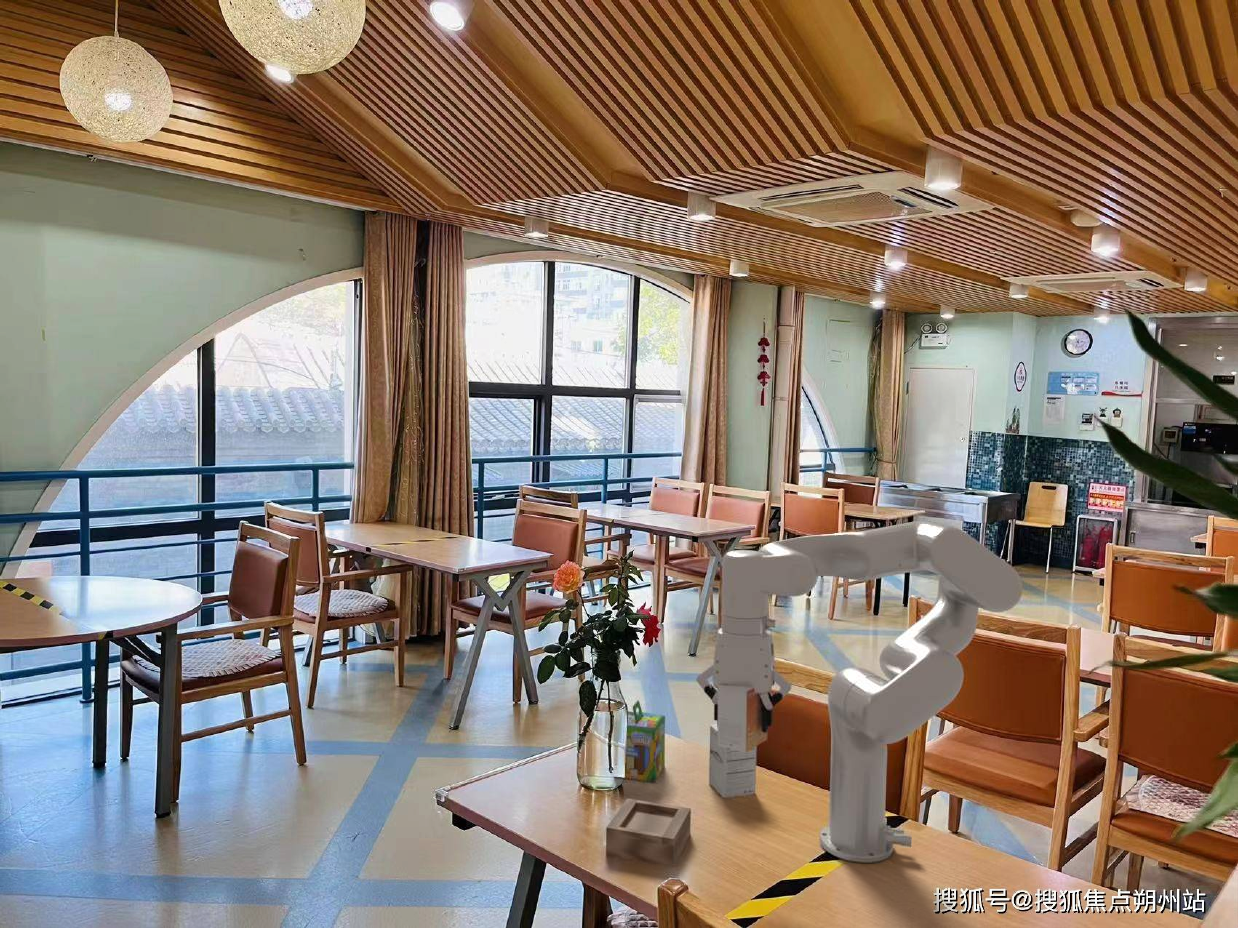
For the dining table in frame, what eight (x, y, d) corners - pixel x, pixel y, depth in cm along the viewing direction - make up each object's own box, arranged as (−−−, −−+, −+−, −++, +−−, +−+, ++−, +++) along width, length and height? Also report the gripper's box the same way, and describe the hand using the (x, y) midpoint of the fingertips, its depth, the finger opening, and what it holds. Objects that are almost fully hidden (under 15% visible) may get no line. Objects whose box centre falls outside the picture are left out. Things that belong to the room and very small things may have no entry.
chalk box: (654, 784, 183) (655, 713, 182) (612, 777, 186) (612, 708, 185) (666, 766, 192) (667, 699, 191) (625, 761, 195) (626, 694, 194)
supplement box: (707, 783, 184) (708, 723, 183) (740, 779, 186) (742, 720, 185) (722, 799, 177) (723, 736, 176) (756, 794, 179) (758, 732, 178)
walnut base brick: (690, 836, 162) (690, 808, 162) (673, 868, 151) (673, 838, 151) (627, 825, 166) (627, 798, 166) (605, 856, 155) (606, 827, 155)
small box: (745, 754, 148) (746, 691, 147) (716, 746, 151) (717, 685, 150) (768, 739, 154) (769, 679, 153) (739, 732, 157) (740, 673, 157)
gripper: (798, 622, 152) (797, 725, 153) (698, 615, 157) (697, 714, 158) (793, 634, 145) (792, 741, 146) (688, 625, 150) (688, 729, 151)
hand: (742, 726), depth 152 cm, fingers closed on small box, 7 cm apart
